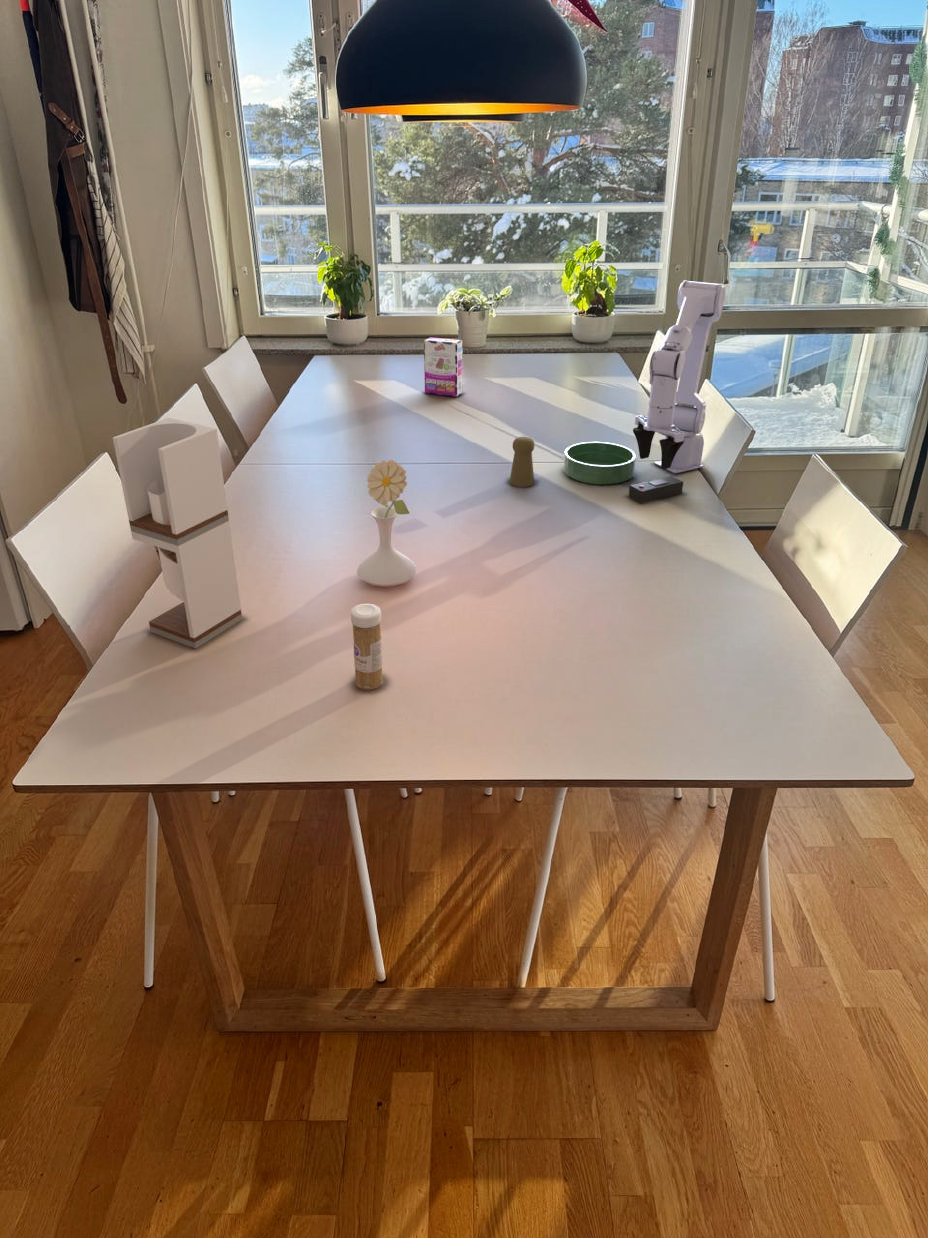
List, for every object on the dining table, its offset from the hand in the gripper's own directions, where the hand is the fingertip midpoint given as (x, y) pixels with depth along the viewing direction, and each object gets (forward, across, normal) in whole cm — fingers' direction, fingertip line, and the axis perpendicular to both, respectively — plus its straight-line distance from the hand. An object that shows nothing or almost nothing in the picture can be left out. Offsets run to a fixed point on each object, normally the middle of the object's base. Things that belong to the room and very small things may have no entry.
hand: (654, 462), depth 207 cm
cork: (+8, -21, -22) cm, 32 cm away
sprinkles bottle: (+8, +39, -90) cm, 99 cm away
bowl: (+8, -17, -2) cm, 19 cm away
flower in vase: (+8, +9, -72) cm, 73 cm away
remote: (+8, +1, +1) cm, 8 cm away
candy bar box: (+8, -95, -4) cm, 96 cm away
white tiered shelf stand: (+8, +8, -109) cm, 110 cm away
